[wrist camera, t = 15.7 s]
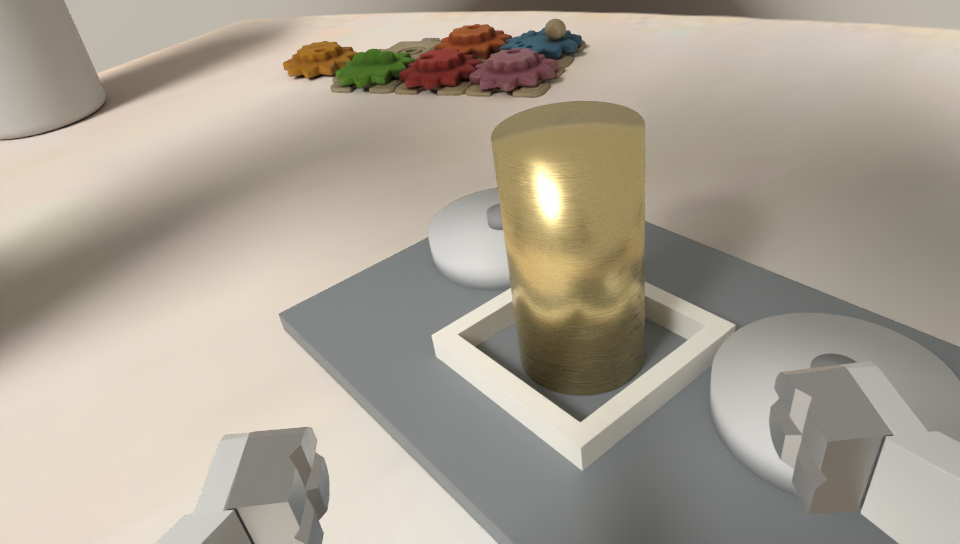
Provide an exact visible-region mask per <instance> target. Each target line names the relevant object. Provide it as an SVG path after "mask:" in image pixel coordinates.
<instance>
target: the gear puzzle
mask: <svg viewBox="0 0 960 544" xmlns="http://www.w3.org/2000/svg"><path fill="white" fill-rule="evenodd" d="M584 48H585V42H584V41H582V38H581V36H580V35H575V34H571V32H570V31H569V30H568V31H566V27H565V24H564V23H563V22H562V21H561V20H559V19H552V20H550V21H549V22H548V23H547V24H546V27H545V28H543V29H542V30H541V31H539V32H535V31H529V32H527V33H523V34H522V35H521V36H519V37H514V38H512V36H511V35H507V34H504V32H503V31H495V30H494V28H493V27H490V26H489V25H479V24H475V25H472V26H463V27H461V28H457V29H454V30H453V32H451V33H450V34H449V37H447V38H443V39H442V40H441V41H440V39H439V38H424V39H422V41H412V42H399V43H397V44H395V45H394V46H392V47H391V48H389V49H379V50H378V49H370V50H368V51H366V52H365V53H364V52H359V53H357V52H354V51H353V48H352V47H341V46H340V45H338V44H337V42H327V41H323V42H319V43H312V44H310V45H306V46H302V49H300V50H298V51H297V54H295V55H293V56H292V59H290V60H288V61H286V62H284V63H283V66H284V70H288V74H289V76H298V75H304V76H305V77H306V78H311V77H314V76H316V75H319V74H324V75H334V74H335V73H336V76H335V77H334V78H333V79H332V80H333V83H335V84H333V85H332V86H331V91H332V92H337V93H351V92H352V91H353V90H354V89H356V88H369V92H370V93H379V94H387V93H393V92H395V93H396V94H413V95H416V94H418V93H419V91H420V90H438V91H437V95H455V96H456V95H462V94H466V95H468V96H488V97H489V96H491V94H492V92H496V91H506V92H513V97H529V98H535V97H540V96H542V95H543V94H545V92H546V91H547V90H548V89H549V88H550V84H549V83H541V81H542V80H546V79H551V78H559V76H560V75H561V74H562V73H563V72H564V68H565V67H568V66H569V65H570V64H571V62H572V61H573V56H571V55H570V56H565V55H566V54H567V53H573V52H581V51H582V50H583V49H584Z"/></svg>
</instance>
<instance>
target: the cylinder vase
mask: <svg viewBox="0 0 960 544" xmlns="http://www.w3.org/2000/svg"><path fill="white" fill-rule="evenodd" d="M105 99H106V93H105V91H104V88H103V86H102V84H101V82H100V80H99V77H98V75H97V73H96V71H95V68H94V66H93V64H92V62H91V60H90V57H89V55H88V53H87V51H86V48H85V46H84V44H83V42H82V40H81V37H80V35H79V33H78V31H77V28H76V27H75V24H74V22H73V19H72V17H71V15H70V13H69V11H68V8H67V6H66V4H65V2H64V0H0V139H14V138H21V137H27V136H32V135H36V134H40V133H44V132H48V131H51V130H55V129H58V128H61V127H64V126H66V125H69V124H72V123H74V122H76V121H79V120H81V119H83V118H85V117H87V116H89V115H90V114H92V113H94V112H95V111H97V110H98V109H99V108H100V107H101V106H102V105H103V104H104V102H105Z"/></svg>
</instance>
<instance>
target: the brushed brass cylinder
mask: <svg viewBox="0 0 960 544" xmlns="http://www.w3.org/2000/svg"><path fill="white" fill-rule="evenodd" d="M491 140H492V148H493V156H494V163H495V171H496V179H497V186H498V194H499V201H500V209H501V217H502V224H503V232H504V240H505V247H506V255H507V263H508V270H509V278H510V285H511V293H512V301H513V308H514V316H515V324H516V331H517V339H518V347H519V354H520V362H521V365H522V367H523V369H524V371H525V373H526V374H527V375H528V377H529V378H531V379H532V380H533V381H534V382H535V383H537V384H538V385H540V386H542V387H544V388H546V389H548V390H551V391H553V392H557V393H561V394H566V395H576V396H583V395H595V394H600V393H604V392H608V391H611V390H613V389H616V388H618V387H620V386H622V385H624V384H625V383H627V382H628V381H629V380H631V379H632V378H633V377H634V376H635V375H636V374H637V373H638V371H639V370H640V368H641V366H642V364H643V361H644V355H645V123H644V120H643V118H642V117H641V116H640V115H639V114H638V113H637V112H635V111H634V110H631V109H629V108H627V107H624V106H621V105H617V104H612V103H606V102H595V101H572V102H561V103H554V104H548V105H543V106H539V107H535V108H531V109H528V110H525V111H522V112H520V113H517V114H515V115H513V116H511V117H509V118H507V119H505V120H504V121H502V122H501V123H500V124H499V125H498V126H497V127H496V128H495V129H494V131H493V132H492V136H491Z"/></svg>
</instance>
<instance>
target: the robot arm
mask: <svg viewBox="0 0 960 544" xmlns="http://www.w3.org/2000/svg"><path fill="white" fill-rule="evenodd" d="M774 389H775V391H776V393H777V395H778V397H779V399H778V400H777V401H776V402H775V403H774V404H773V405H772V406H771V408H770V415H769V427H770V435H771V439H772V442H773V445H774V448H775V450H776V452H777V454H778V456H779V458H780V460H781V461H782V462H784V463H785V464H787V465H788V466H790V467H791V468H793V469H794V473H793V477H792V484H793V486H794V488H795V489H796V491H797V493H798V495H799V497H800V499H801V501H802V503H803V505H804V507H805V509H806V511H807V513H808V514H809V515H814V514H826V513H838V512H851V511H861V514H862V515H863V516H865V517H866V518H867V519H868V520H870V521H871V522H872V523H873V524H875V525H876V526H877V527H878V528H880V529H881V530H882V531H884V532H885V533H886V534H887V535H889V536H890V537H891V538H892V539H894V540H895V541H896V542H897V543H899V544H960V443H959V442H958V441H956V440H954V439H952V438H950V437H948V436H946V435H944V434H942V433H941V432H939V431H934V432H928V430H927V429H926V428H925V426H924V425H923V424H922V423H921V421H920V420H919V419H918V418H917V416H916V415H915V414H914V412H913V411H912V410H911V409H910V407H909V406H908V405H907V403H906V402H905V401H904V400H903V398H902V397H901V396H900V394H899V393H898V392H897V391H896V389H895V388H894V387H893V386H892V384H891V383H890V382H889V380H888V379H887V378H886V377H885V375H884V374H883V373H882V371H881V370H880V369H879V368H878V366H877V365H876V364H874V363H872V362H871V361H865V362H857V363H849V364H841V365H838V366H837V365H832V366H824V367H816V368H808V369H800V370H792V371H784V372H780V373H779V374H778V376H777V377H776V381H775V386H774ZM316 445H317V439H316V437H315V434H314V432H313V430H312V428H310V427H302V428H290V429H279V430H268V431H257V432H251V433H240V434H229V435H225V436H224V437H223V438H222V439H221V440H220V441H219V443H218V446H217V448H216V451H215V454H214V457H213V460H212V463H211V465H210V468H209V471H208V474H207V477H206V479H205V482H204V485H203V488H202V491H201V494H200V496H199V499H198V502H197V505H196V508H195V510H194V513H193V514H190V515H185V516H183V517H182V518H181V519H180V520H179V521H178V522H177V523H176V524H175V525H174V526H173V527H172V528H171V529H170V530H169V531H168V532H167V533H166V534H165V535H164V536H163V537H162V538H160V539H159V540H158V541H157V542H156V543H155V544H322V540H323V534H324V533H323V531H322V528H321V526H320V523H319V520H320V518H321V517H322V516H323V515H324V514H325V513H326V512H327V509H328V502H329V475H328V470H327V466H326V463H325V460H324V458H323V457H322V456H320V455H319V454H317V453H316V452H315V450H316Z"/></svg>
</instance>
